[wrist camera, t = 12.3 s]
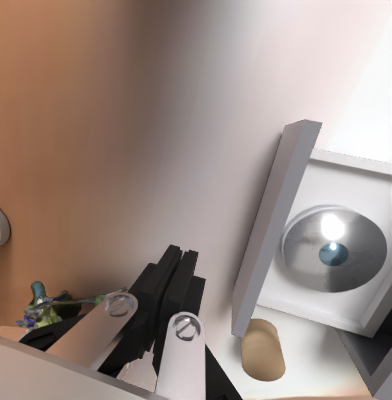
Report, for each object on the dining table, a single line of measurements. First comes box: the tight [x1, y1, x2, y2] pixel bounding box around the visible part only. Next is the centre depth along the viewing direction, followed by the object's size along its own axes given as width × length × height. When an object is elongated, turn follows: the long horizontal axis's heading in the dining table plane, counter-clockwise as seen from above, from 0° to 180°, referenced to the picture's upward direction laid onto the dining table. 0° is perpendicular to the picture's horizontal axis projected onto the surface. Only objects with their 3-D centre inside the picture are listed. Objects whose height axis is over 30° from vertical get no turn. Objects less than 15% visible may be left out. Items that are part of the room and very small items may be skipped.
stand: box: [241, 319, 285, 381], centre depth 21 cm, size 4×4×4 cm
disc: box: [280, 204, 387, 293], centre depth 16 cm, size 7×7×2 cm
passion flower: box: [16, 281, 127, 332], centre depth 22 cm, size 11×11×12 cm
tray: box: [231, 119, 392, 338], centre depth 16 cm, size 12×17×5 cm
